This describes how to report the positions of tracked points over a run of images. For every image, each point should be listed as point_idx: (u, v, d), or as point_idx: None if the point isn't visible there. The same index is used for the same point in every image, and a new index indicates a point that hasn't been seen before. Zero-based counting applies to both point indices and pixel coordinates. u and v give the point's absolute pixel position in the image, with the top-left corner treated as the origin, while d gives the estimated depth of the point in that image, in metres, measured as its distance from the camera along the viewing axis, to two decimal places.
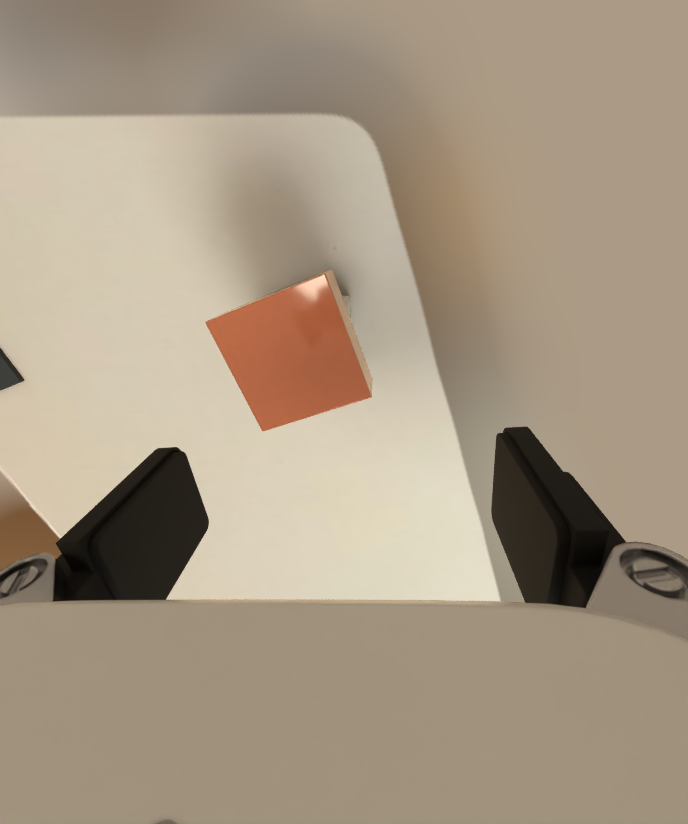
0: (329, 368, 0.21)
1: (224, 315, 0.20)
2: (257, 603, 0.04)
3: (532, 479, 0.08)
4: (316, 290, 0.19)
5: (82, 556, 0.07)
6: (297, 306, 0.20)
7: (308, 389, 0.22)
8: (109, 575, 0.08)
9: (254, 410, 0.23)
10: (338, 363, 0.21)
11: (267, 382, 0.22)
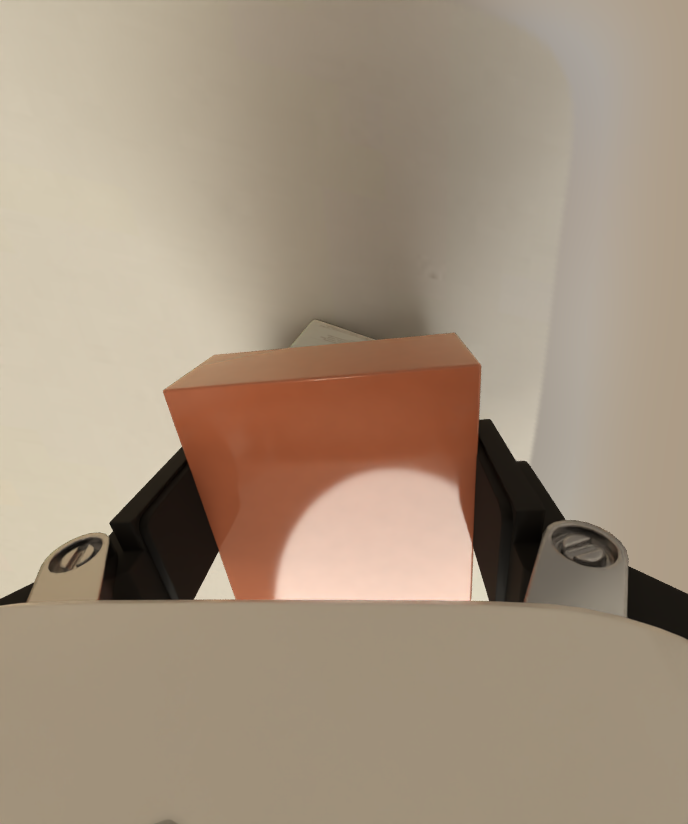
0: (409, 539, 0.10)
1: (211, 388, 0.09)
2: (257, 603, 0.04)
3: (487, 466, 0.08)
4: (446, 394, 0.08)
5: (133, 535, 0.08)
6: (388, 415, 0.08)
7: (351, 560, 0.11)
8: (157, 554, 0.08)
9: (230, 567, 0.11)
10: (432, 536, 0.10)
11: (272, 531, 0.10)
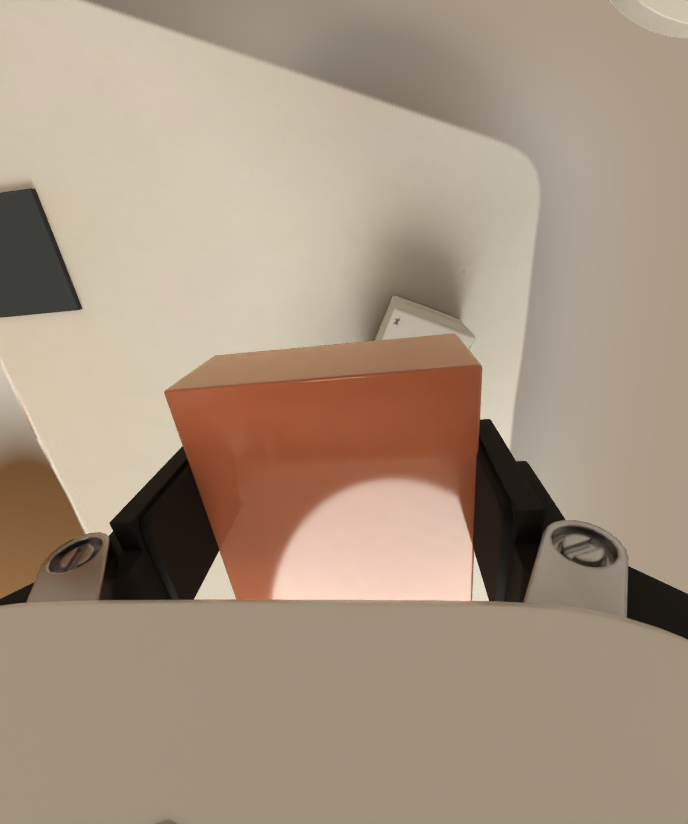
0: (409, 539, 0.10)
1: (212, 389, 0.09)
2: (257, 603, 0.04)
3: (486, 466, 0.08)
4: (447, 395, 0.08)
5: (133, 535, 0.08)
6: (388, 415, 0.08)
7: (352, 560, 0.11)
8: (157, 554, 0.08)
9: (230, 567, 0.11)
10: (433, 536, 0.10)
11: (273, 531, 0.10)
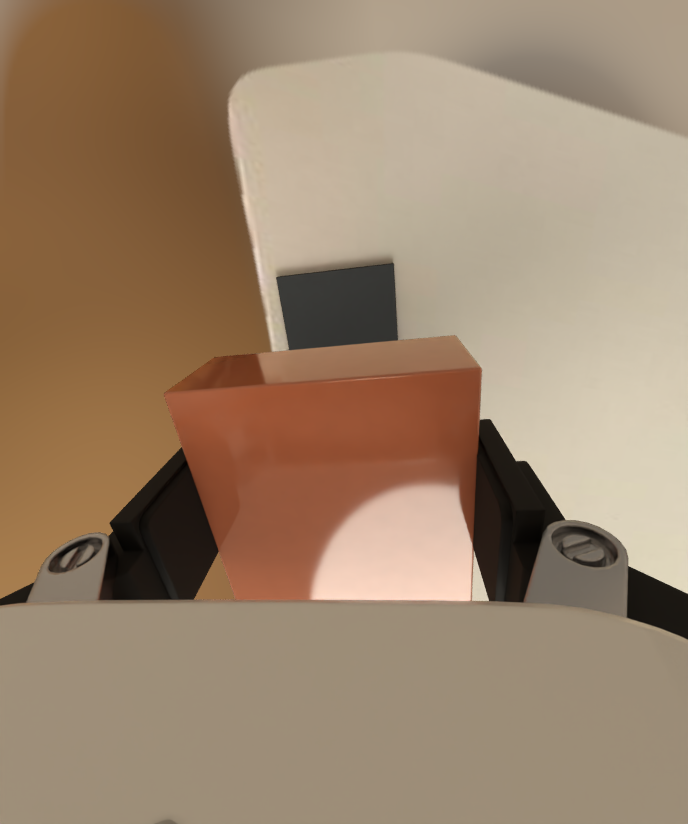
0: (409, 541, 0.10)
1: (212, 391, 0.09)
2: (257, 603, 0.04)
3: (486, 466, 0.08)
4: (446, 398, 0.08)
5: (133, 535, 0.08)
6: (388, 418, 0.08)
7: (351, 562, 0.11)
8: (157, 554, 0.08)
9: (230, 569, 0.11)
10: (433, 538, 0.10)
11: (273, 533, 0.10)
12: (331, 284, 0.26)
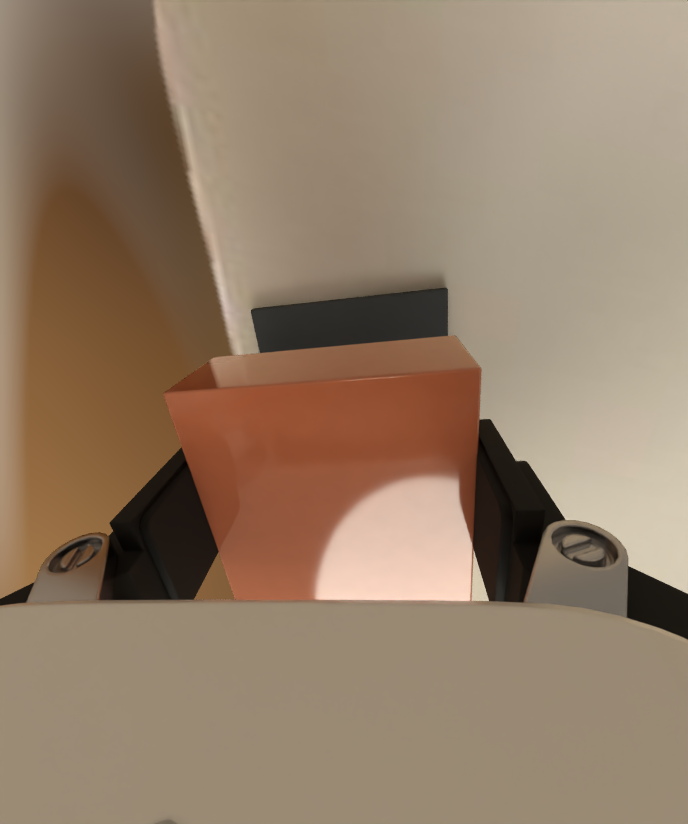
0: (409, 541, 0.10)
1: (212, 391, 0.09)
2: (257, 603, 0.04)
3: (487, 466, 0.08)
4: (446, 398, 0.08)
5: (133, 535, 0.08)
6: (388, 418, 0.08)
7: (351, 563, 0.11)
8: (157, 554, 0.08)
9: (230, 569, 0.11)
10: (432, 538, 0.10)
11: (272, 533, 0.10)
12: (341, 322, 0.16)
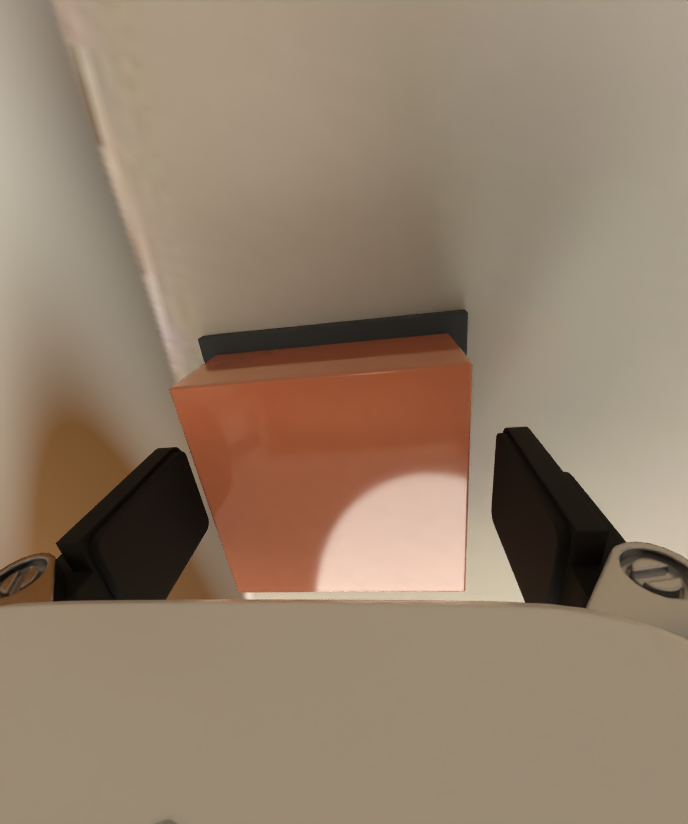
0: (405, 531, 0.10)
1: (216, 386, 0.09)
2: (257, 603, 0.04)
3: (532, 479, 0.08)
4: (439, 391, 0.09)
5: (82, 556, 0.07)
6: (384, 411, 0.09)
7: (349, 552, 0.11)
8: (109, 575, 0.08)
9: (232, 559, 0.12)
10: (427, 528, 0.10)
11: (273, 524, 0.11)
12: None
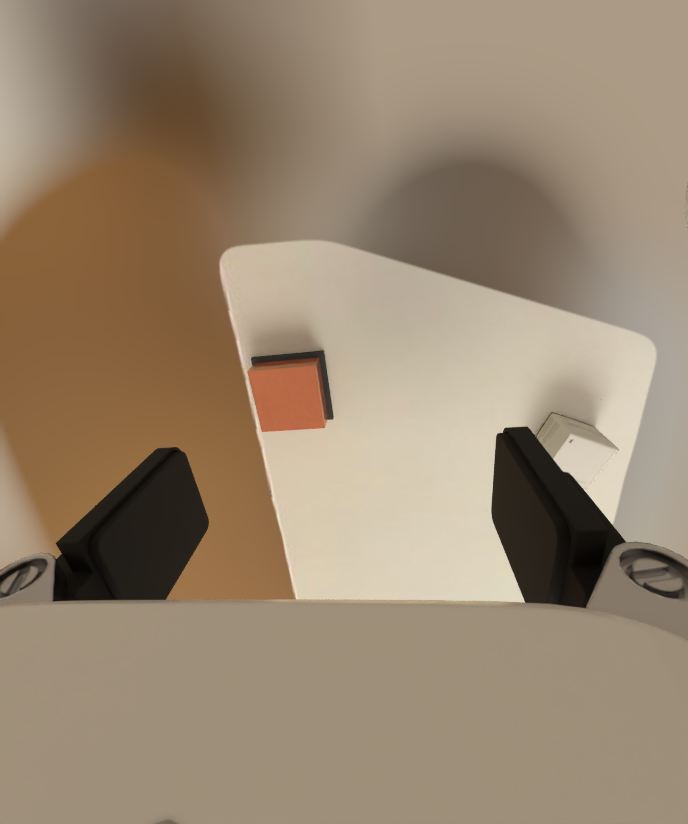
0: (306, 408, 0.40)
1: (258, 370, 0.39)
2: (257, 603, 0.04)
3: (532, 479, 0.08)
4: (309, 371, 0.38)
5: (82, 556, 0.07)
6: (297, 376, 0.39)
7: (292, 416, 0.41)
8: (109, 575, 0.08)
9: (260, 420, 0.41)
10: (311, 407, 0.40)
11: (272, 407, 0.40)
12: None
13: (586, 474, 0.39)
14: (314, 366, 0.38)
